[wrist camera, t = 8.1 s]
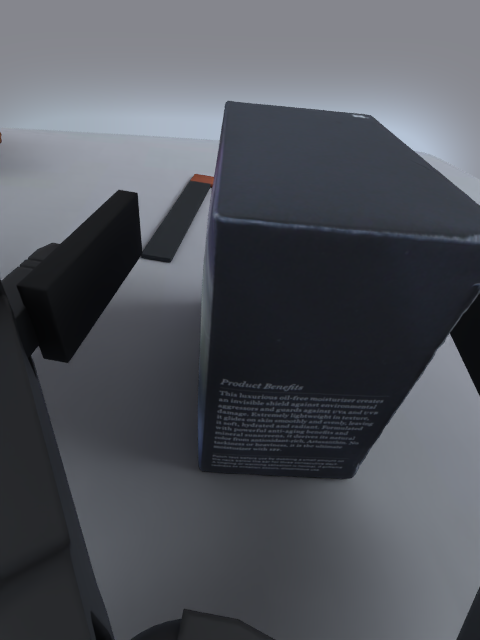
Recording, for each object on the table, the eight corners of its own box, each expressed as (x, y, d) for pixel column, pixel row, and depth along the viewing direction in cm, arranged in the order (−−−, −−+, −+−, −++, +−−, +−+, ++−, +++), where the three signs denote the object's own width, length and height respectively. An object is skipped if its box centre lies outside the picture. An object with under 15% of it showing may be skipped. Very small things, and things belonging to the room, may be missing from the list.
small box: (206, 298, 21) (219, 92, 14) (313, 307, 21) (376, 113, 15) (188, 475, 13) (197, 200, 6) (358, 482, 14) (545, 237, 7)
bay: (141, 257, 23) (140, 253, 23) (194, 176, 36) (194, 173, 35) (409, 302, 23) (412, 299, 23) (371, 205, 35) (372, 202, 35)
